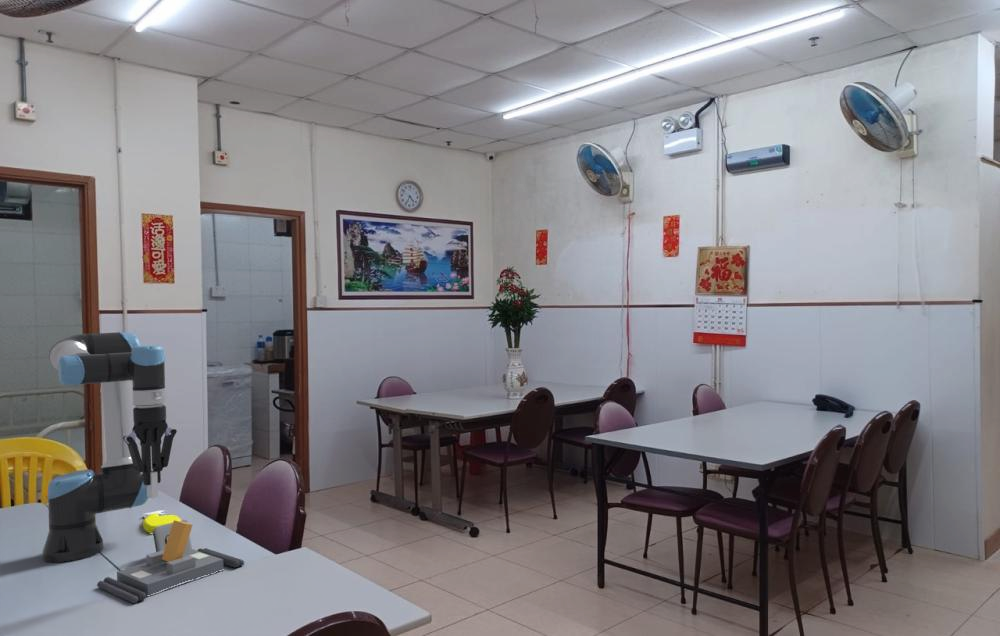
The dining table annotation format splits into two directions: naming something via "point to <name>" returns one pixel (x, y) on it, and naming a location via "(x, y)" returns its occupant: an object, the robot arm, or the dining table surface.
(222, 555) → the cable bundle
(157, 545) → the electrical switch
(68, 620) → the dining table surface
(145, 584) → the breaker panel
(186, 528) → the lever
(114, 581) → the cable bundle
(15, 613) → the dining table surface
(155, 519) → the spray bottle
